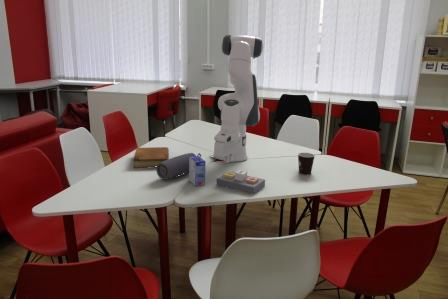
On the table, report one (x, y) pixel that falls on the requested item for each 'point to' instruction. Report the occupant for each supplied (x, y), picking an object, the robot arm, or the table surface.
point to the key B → (241, 175)
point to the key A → (229, 175)
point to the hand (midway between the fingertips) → (228, 161)
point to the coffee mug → (305, 163)
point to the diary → (150, 156)
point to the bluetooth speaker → (174, 166)
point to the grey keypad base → (241, 184)
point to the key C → (252, 180)
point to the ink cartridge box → (197, 170)
